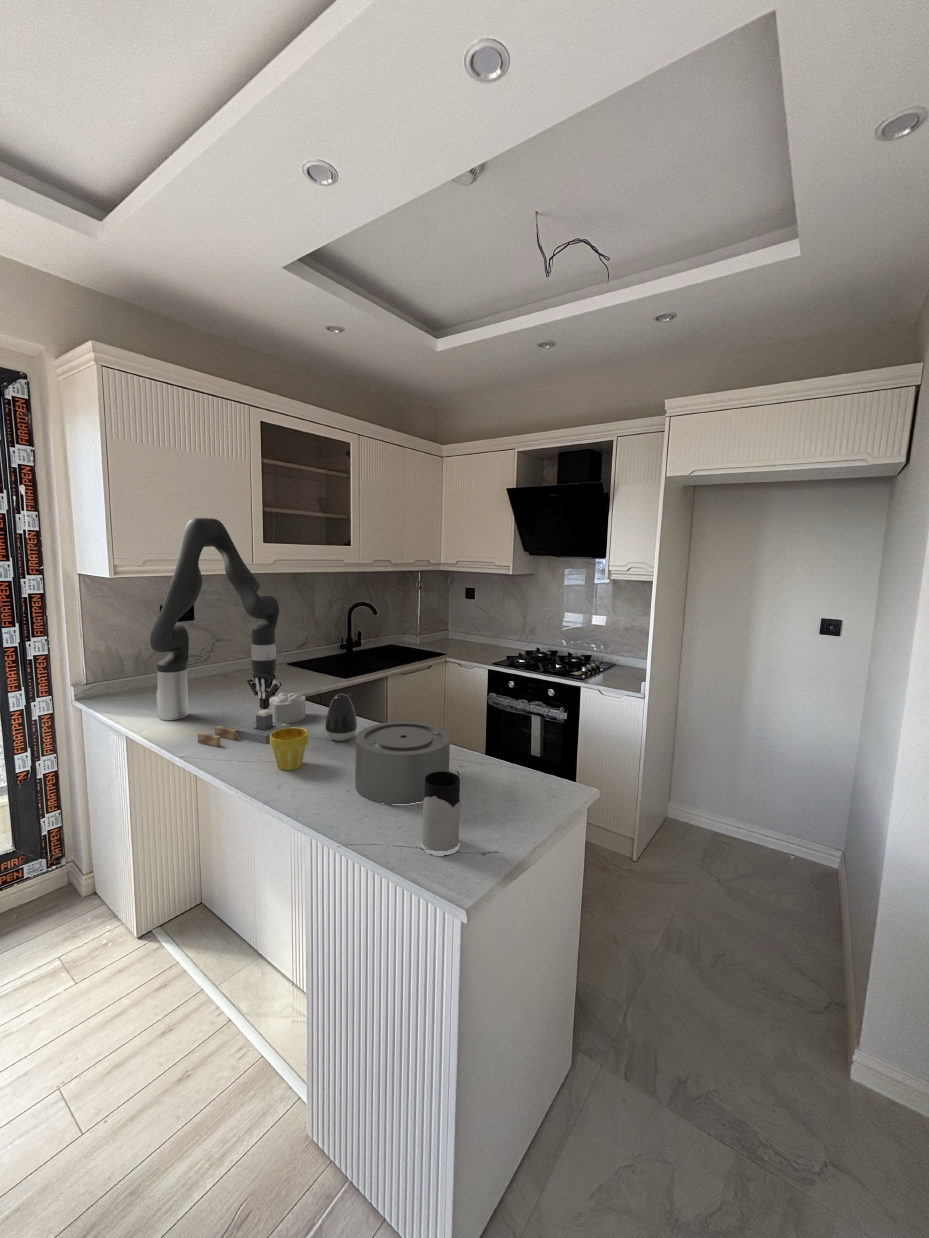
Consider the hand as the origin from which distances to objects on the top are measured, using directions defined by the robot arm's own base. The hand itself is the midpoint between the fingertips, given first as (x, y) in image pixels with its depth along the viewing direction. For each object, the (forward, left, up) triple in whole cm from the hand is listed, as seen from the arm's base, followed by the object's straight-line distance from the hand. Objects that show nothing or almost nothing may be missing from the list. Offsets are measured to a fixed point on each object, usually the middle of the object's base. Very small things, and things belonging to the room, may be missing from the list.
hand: (264, 708), depth 173 cm
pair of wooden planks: (-9, -11, -9) cm, 17 cm away
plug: (0, 0, -9) cm, 9 cm away
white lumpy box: (-5, +17, -9) cm, 20 cm away
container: (+58, -11, -9) cm, 60 cm away
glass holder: (+80, -31, -9) cm, 86 cm away
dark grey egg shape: (+24, +9, -9) cm, 27 cm away
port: (0, 0, -9) cm, 9 cm away
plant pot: (+24, -16, -9) cm, 30 cm away
